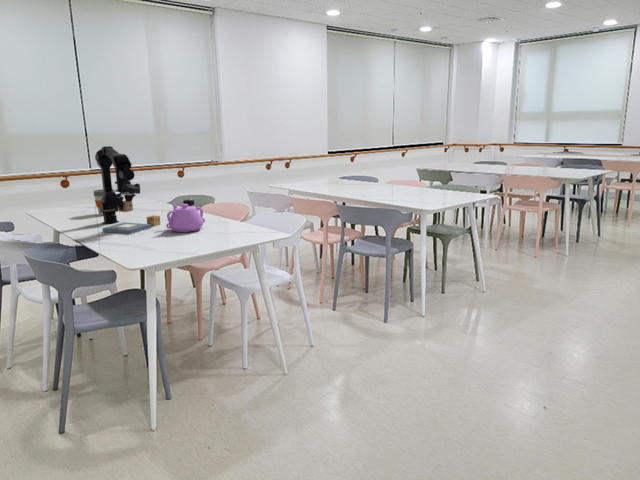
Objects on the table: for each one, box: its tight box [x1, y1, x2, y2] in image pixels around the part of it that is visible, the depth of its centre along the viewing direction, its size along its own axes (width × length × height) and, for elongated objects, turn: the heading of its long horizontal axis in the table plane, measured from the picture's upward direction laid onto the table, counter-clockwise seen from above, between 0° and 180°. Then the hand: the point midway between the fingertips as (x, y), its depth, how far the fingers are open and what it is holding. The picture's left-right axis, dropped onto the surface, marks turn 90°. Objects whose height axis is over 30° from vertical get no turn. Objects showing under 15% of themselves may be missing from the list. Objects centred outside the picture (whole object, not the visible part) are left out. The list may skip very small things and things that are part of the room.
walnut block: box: [118, 200, 134, 213], centre depth 259 cm, size 5×5×5 cm
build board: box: [102, 222, 152, 235], centre depth 261 cm, size 18×16×2 cm
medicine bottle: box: [182, 198, 199, 212], centre depth 284 cm, size 7×7×12 cm
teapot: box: [165, 201, 206, 233], centre depth 259 cm, size 22×22×14 cm
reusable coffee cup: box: [93, 188, 116, 216], centre depth 308 cm, size 12×13×15 cm
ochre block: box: [146, 215, 161, 227], centre depth 273 cm, size 5×5×5 cm
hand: (125, 209), depth 259 cm, fingers closed on walnut block, 5 cm apart
